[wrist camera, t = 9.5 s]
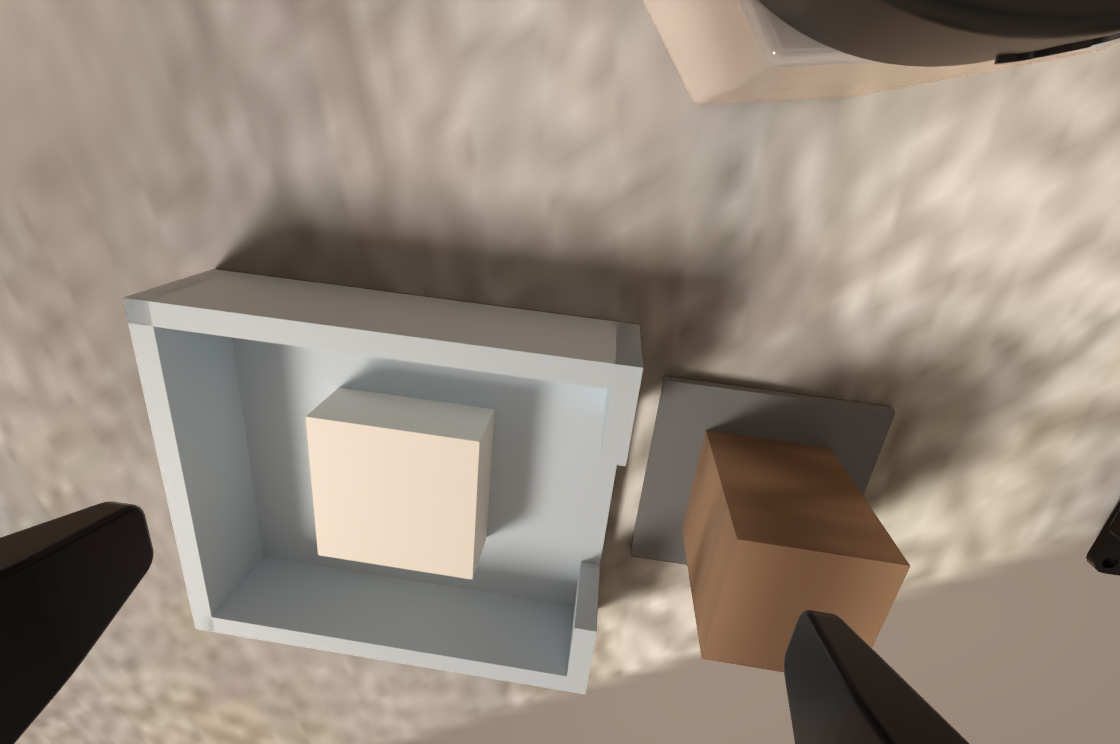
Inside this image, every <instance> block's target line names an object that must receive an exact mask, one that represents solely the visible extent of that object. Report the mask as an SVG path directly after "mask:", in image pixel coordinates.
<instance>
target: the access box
mask: <svg viewBox="0 0 1120 744" xmlns="http://www.w3.org/2000/svg"><path fill="white" fill-rule="evenodd" d="M123 302H124V306H125V311H126V315H127V320H128V325H129V329H130V334H131V338H132V343H133V347H134V352H135V356H136V361H137V365H138V370H139V375H140V379H141V384H142V388H143V393H144V397H145V402H146V406H147V411H148V416H149V420H150V425H151V429H152V434H153V438H154V443H155V447H156V452H157V456H158V461H159V466H160V470H161V475H162V479H163V484H164V488H165V493H166V497H167V502H168V507H169V511H170V516H171V520H172V525H173V529H174V534H175V538H176V543H177V547H178V552H179V557H180V561H181V566H182V570H183V575H184V579H185V584H186V588H187V593H188V598H189V602H190V607H191V611H192V616H193V620H194V625H195V629H199V630H205V631H211V632H217V633H223V634H229V635H235V636H241V637H247V638H253V639H259V640H265V641H270V642H276V643H282V644H288V645H294V646H300V647H306V648H312V649H318V650H324V651H330V652H336V653H342V654H348V655H354V656H360V657H366V658H372V659H378V660H384V661H389V662H395V663H401V664H407V665H413V666H419V667H425V668H431V669H437V670H443V671H449V672H455V673H461V674H467V675H473V676H479V677H485V678H491V679H497V680H503V681H508V682H514V683H520V684H526V685H532V686H538V687H544V688H550V689H556V690H562V691H568V692H574V693H580V694H586V688H587V682H588V677H589V671H590V666H591V660H592V654H593V649H594V643H595V637H596V632H597V613H598V593H599V574H600V561H601V556H602V550H603V544H604V538H605V532H606V526H607V520H608V514H609V508H610V502H611V497H612V491H613V485H614V479H615V473H616V467H617V465H621V466H626V463H627V457H628V451H629V446H630V440H631V434H632V429H633V423H634V417H635V412H636V406H637V401H638V395H639V389H640V384H641V378H642V372H643V360H642V349H641V338H640V328H639V324H631V323H624V322H616V321H608V320H601V319H593V318H585V317H577V316H570V315H562V314H554V313H547V312H539V311H531V310H524V309H516V308H508V307H501V306H493V305H485V304H478V303H470V302H462V301H455V300H447V299H439V298H432V297H424V296H416V295H409V294H401V293H393V292H386V291H378V290H370V289H363V288H355V287H347V286H340V285H332V284H324V283H317V282H309V281H301V280H294V279H286V278H278V277H271V276H263V275H255V274H248V273H240V272H232V271H225V270H217V269H212V270H209V271H206V272H203V273H200V274H196V275H193V276H190V277H187V278H184V279H181V280H177V281H174V282H171V283H168V284H165V285H162V286H158V287H155V288H152V289H149V290H146V291H143V292H139V293H136V294H133V295H130V296H127V297H124V298H123Z"/></svg>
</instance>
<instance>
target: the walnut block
mask: <svg viewBox="0 0 1120 744" xmlns="http://www.w3.org/2000/svg"><path fill="white" fill-rule="evenodd" d="M682 533H683V540H684V546H685V553H686V559H687V566H688V572H689V579H690V585H691V592H692V598H693V604H694V611H695V617H696V624H697V630H698V637H699V643H700V650H701V656H702V659H708V660H713V661H719V662H725V663H732V664H737V665H744V666H749V667H755V668H761V669H767V670H774V671H779V672H784V658H785V653H786V650H787V647H788V645H789V642H790V639H791V637H792V634H793V631H794V629H795V626H796V623H797V621H798V618H799V616H800V614H801V613H802V612H804V611H806V610H812V611H818V612H825V613H831V614H834V615H837V616H838V617H840V618H841V619H842V620H843V621H844V622H845V623H846V624H847V625H849V626H850V627H851V628H852V629H853V630H854V631H855V632H856V633H857V634H858V635H859V636H860V637H861V638H862V639H863V640H864V641H865V642H866V643H867V644H868V645H869V646H870V647H871V648H872V647H873V645H874V643H875V641H876V638H877V636H878V634H879V632H880V630H881V628H882V626H883V623H884V621H885V619H886V617H887V615H888V613H889V611H890V608H891V606H892V604H893V602H894V600H895V598H896V596H897V593H898V591H899V589H900V587H901V585H902V583H903V581H904V578H905V576H906V574H907V572H908V570H909V568H910V565H909V563H908V562H907V560H906V559H905V557H904V556H903V555H902V553H901V552H900V550H899V549H898V547H897V546H896V544H895V543H894V541H893V540H892V538H891V537H890V535H889V534H888V532H887V531H886V529H885V528H884V526H883V525H882V524H881V522H880V521H879V519H878V518H877V516H876V515H875V513H874V512H873V510H872V509H871V507H870V506H869V504H868V503H867V501H866V500H865V498H864V497H863V495H862V494H861V492H860V491H859V490H858V488H857V487H856V485H855V484H854V482H853V481H852V479H851V478H850V476H849V475H848V473H847V472H846V470H845V469H844V467H843V466H842V464H841V463H840V461H839V460H838V459H837V457H836V456H835V454H834V453H833V451H832V450H831V448H825V447H818V446H811V445H804V444H797V443H790V442H783V441H776V440H770V439H763V438H756V437H749V436H742V435H735V434H728V433H721V432H714V431H707V430H706V432H705V436H704V440H703V444H702V448H701V452H700V456H699V460H698V464H697V468H696V472H695V477H694V481H693V485H692V489H691V493H690V497H689V501H688V505H687V509H686V513H685V517H684V522H683V526H682Z"/></svg>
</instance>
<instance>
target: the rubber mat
mask: <svg viewBox="0 0 1120 744" xmlns="http://www.w3.org/2000/svg"><path fill="white" fill-rule="evenodd" d="M894 414H895V411H894V410H893V409H892V408H891V407H890V406H883V405H876V404H868V403H861V402H853V401H846V400H839V399H831V398H824V397H816V396H809V395H802V394H794V393H787V392H779V391H772V390H765V389H757V388H750V387H742V386H735V385H728V384H720V383H713V382H705V381H698V380H691V379H683V378H676V377H668V376H664V380H663V386H662V391H661V396H660V401H659V406H658V411H657V416H656V421H655V427H654V432H653V437H652V442H651V447H650V452H649V457H648V462H647V468H646V473H645V478H644V483H643V488H642V493H641V498H640V503H639V509H638V514H637V519H636V524H635V529H634V534H633V539H632V544H631V556H633V557H640V558H646V559H653V560H659V561H666V562H672V563H679V564H685V565H687V559H686V553H685V546H684V540H683V533H682V526H683V522H684V517H685V513H686V509H687V505H688V501H689V497H690V493H691V489H692V485H693V481H694V477H695V472H696V468H697V464H698V460H699V456H700V452H701V448H702V444H703V440H704V436H705V432H706V430H707V431H714V432H721V433H728V434H735V435H742V436H749V437H756V438H763V439H770V440H776V441H783V442H790V443H797V444H804V445H811V446H818V447H825V448H831V450H832V451H833V453H834V454H835V456H836V457H837V459H838V460H839V461H840V463H841V464H842V466H843V467H844V469H845V470H846V472H847V473H848V475H849V476H850V478H851V479H852V481H853V482H854V484H855V485H856V487H857V488H858V490H859V491H860V492H861V494H862V495H863V494H864V491H865V489H866V486H867V484H868V481H869V479H870V476H871V473H872V471H873V468H874V466H875V463H876V461H877V458H878V455H879V453H880V450H881V448H882V445H883V443H884V440H885V437H886V435H887V432H888V430H889V427H890V425H891V422H892V419H893V417H894Z"/></svg>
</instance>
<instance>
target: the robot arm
mask: <svg viewBox="0 0 1120 744" xmlns="http://www.w3.org/2000/svg"><path fill="white" fill-rule="evenodd" d="M153 553H154V552H153V547H152V542H151V538H150V534H149V530H148V526H147V522H146V518H145V514H144V512H143V510H142V509H141V508H140V507H138V506H136V505H132V504H126V503H119V502H104V503H100V504H97V505H94V506H91V507H88V508H86V509H83V510H80V511H77V512H74V513H71V514H68V515H65V516H62V517H59V518H57V519H54V520H51V521H48V522H45V523H42V524H39V525H36V526H33V527H30V528H27V529H25V530H22V531H19V532H16V533H13V534H10V535H7V536H4V537H1V538H0V744H14V743H15V742H16V741H17V740H18V739H19V738H20V736H21V735H22V734H23V733H24V732H25V730H26V729H27V728H28V727H29V726H30V725H31V723H32V722H33V721H34V720H35V719H36V718H37V716H38V715H39V714H40V713H41V712H42V710H43V709H44V708H45V707H46V706H47V705H48V703H49V702H50V701H51V700H52V699H53V698H54V696H55V695H56V694H57V693H58V692H59V690H60V689H61V688H62V687H63V685H64V684H65V683H66V682H67V681H68V679H69V678H70V677H71V676H72V674H73V673H74V672H75V670H76V669H77V668H78V666H79V665H80V664H81V662H82V661H83V660H84V658H85V657H86V656H87V654H88V653H89V651H90V650H91V649H92V647H93V646H94V644H95V643H96V642H97V640H98V639H99V638H100V636H101V635H102V633H103V632H104V631H105V629H106V628H107V626H108V625H109V624H110V622H111V621H112V620H113V618H114V617H115V615H116V614H117V613H118V611H119V610H120V608H121V607H122V606H123V604H124V603H125V602H126V600H127V599H128V597H129V596H130V595H131V593H132V592H133V590H134V589H135V588H136V586H137V585H138V583H139V582H140V581H141V579H142V578H143V577H144V575H145V574H146V572H147V571H148V569H149V567H150V565H151V563H152V560H153ZM1086 558H1087V561H1088V562H1089V563H1090V564H1091V565H1092V566H1093V567H1094V568H1095V569H1096V570H1098V571H1099V572H1102V573H1106V574H1113V575H1120V501H1119V503H1118V505H1117V506H1116V508H1115V510H1114V511H1113V513H1112V514H1111V516H1110V518H1109V519H1108V521H1107V523H1106V524H1105V526H1104V527H1103V529H1102V531H1101V532H1100V534H1099V536H1098V537H1097V539H1096V540H1095V542H1094V544H1093V545H1092V547H1091V548H1090V550H1089V552H1088V554H1087V557H1086ZM784 675H785V682H786V688H787V694H788V700H789V707H790V714H791V720H792V727H793V733H794V740H795V744H969V743H968V742H967V741H966V740H965V739H964V738H963V737H962V736H961V735H960V734H959V733H958V732H957V731H956V730H955V729H954V728H953V727H952V726H951V725H950V724H949V723H948V722H947V721H946V720H945V719H944V718H943V717H942V716H941V715H940V714H939V713H938V712H937V711H935V710H934V709H933V708H932V707H931V706H930V705H929V704H928V703H927V702H926V701H925V700H924V699H923V698H922V697H921V696H920V695H919V694H918V693H917V692H916V691H915V690H914V689H913V688H912V687H911V686H910V685H909V684H908V683H907V682H906V681H905V680H904V679H903V678H902V677H901V676H900V675H899V674H898V673H897V672H895V670H893V668H892V667H890V666H889V665H888V664H887V663H886V662H885V661H884V660H883V659H882V658H881V657H880V656H879V655H878V654H877V653H876V652H875V651H874V650H873V649H872V648H871V647H870V646H869V645H868V644H867V643H866V642H865V641H864V640H863V639H862V638H861V637H860V636H859V635H858V634H857V633H856V632H855V631H854V630H853V629H852V628H851V627H850V626H849V625H847V624H846V623H845V622H844V621H843V620H842V619H841V618H840V617H838V616H837V615H834V614H831V613H825V612H818V611H812V610H806V611H804V612H802V613H801V614H800V616H799V618H798V621H797V623H796V626H795V629H794V631H793V634H792V637H791V639H790V642H789V645H788V647H787V650H786V653H785V658H784Z"/></svg>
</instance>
